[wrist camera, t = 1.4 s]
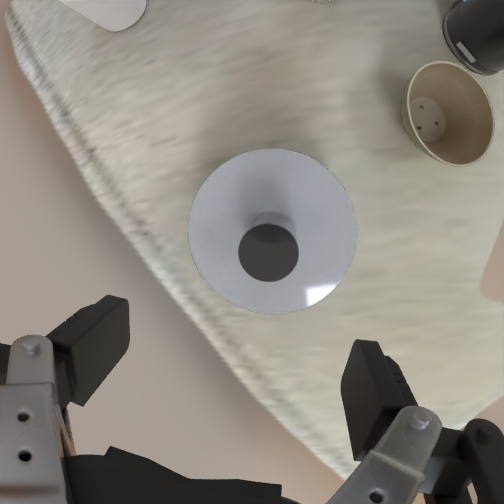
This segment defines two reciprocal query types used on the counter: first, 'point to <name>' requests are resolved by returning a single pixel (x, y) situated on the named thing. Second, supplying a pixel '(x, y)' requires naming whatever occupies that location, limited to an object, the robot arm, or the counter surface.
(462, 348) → the counter surface
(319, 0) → the beer glass
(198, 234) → the lid
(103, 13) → the can
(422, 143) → the flower pot
